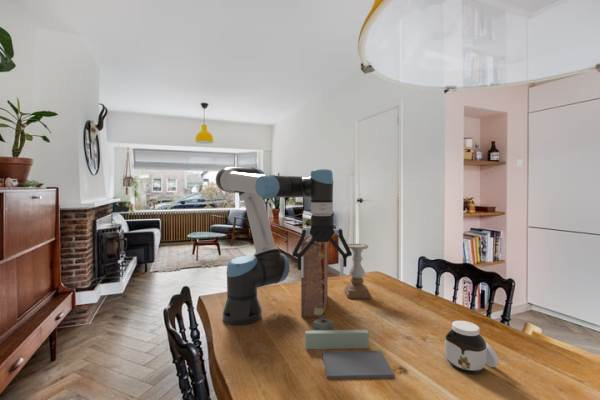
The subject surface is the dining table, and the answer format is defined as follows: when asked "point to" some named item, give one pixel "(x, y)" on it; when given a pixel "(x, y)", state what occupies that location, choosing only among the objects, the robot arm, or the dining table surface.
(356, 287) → the candle holder
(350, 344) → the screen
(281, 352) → the dining table surface
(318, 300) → the book
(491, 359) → the spread jar
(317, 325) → the dice cube
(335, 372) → the mat
